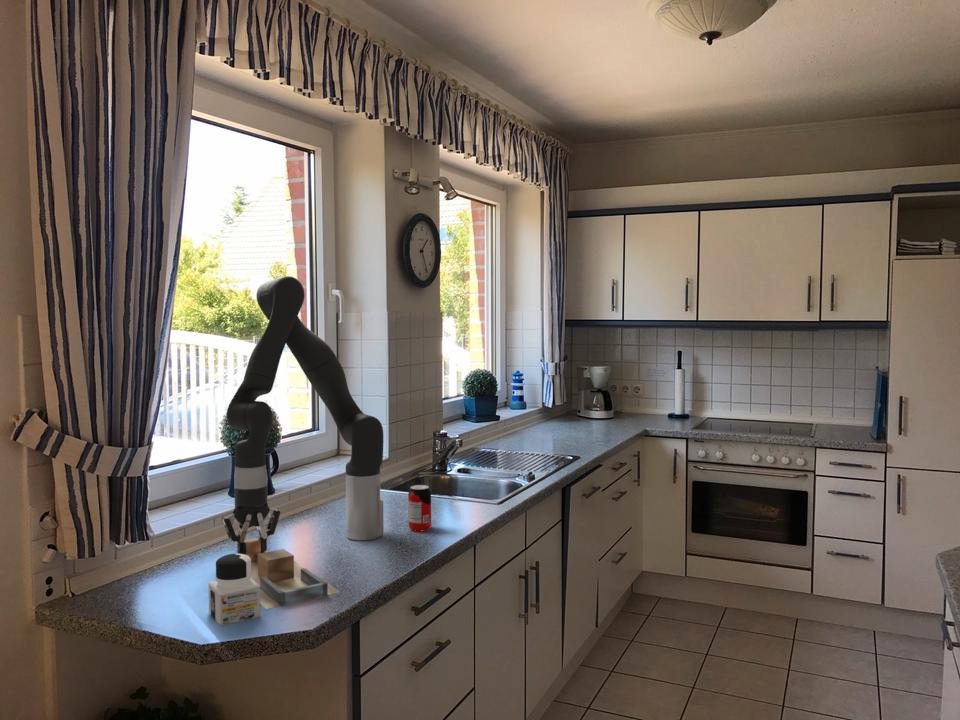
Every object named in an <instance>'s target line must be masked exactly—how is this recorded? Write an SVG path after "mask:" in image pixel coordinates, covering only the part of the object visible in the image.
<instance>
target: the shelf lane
mask: <svg viewBox="0 0 960 720" xmlns="http://www.w3.org/2000/svg"><path fill="white" fill-rule="evenodd" d="M275 550H276V549H274V550H273V551H275ZM270 551H271V550H269V551H268V552H270ZM216 561H217V560H216ZM216 561H213V564H215V565H216ZM251 579H252V580H253V581H255V582H256V583H257V584H258V585H259V586H260V606H262V607H263V608H264V609H265V610H269V609H275V608H278V607H283V606H287V605H291V604H296V603H300V602H305V601H309V600H313V599H319V598H321V597H322V598H323V597H325V596H326V597H327V596H331V595H335V594H340V593H341V591H340V590H338V589H336V588H335V587H334V586H332V585H331V584H329V583H328V582H327V581H325V580H323V579H322V578H321V577H319V576H318V575H316V574H315V573H313V572H311V571H310V570H309V569H307V568H305V567H304V566H303V565H301V564H300V563H299V562H297V561H296V560H294V578H290V579H285V580H281V581H276V582H271V581H270V580H269V579H267V578H266V577H265V576H263V577H259V576H258V561H256V562H251Z"/></svg>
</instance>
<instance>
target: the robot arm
mask: <svg viewBox="0 0 960 720" xmlns="http://www.w3.org/2000/svg"><path fill="white" fill-rule="evenodd" d="M255 296H256V301H257V305H258V307H259V309H260V311H261V312H262V314H264V316H265V317H266V318H267V320H268V323H267V325H266V327H265V329H264V331H263V333H262V335H261V336H260V338H259V339H258V341H257V343H256V345H255V346H254V348H253V350H252V352H251V353H250V354H251V355H250V356H249V359H248V361H247V362H248V363H247V366H246V370H245V374H244V376H243V380H242V381H241V383H240V385H239V387H238V388H237V390H236V392H235V393H234V394H233V397H232V399H231V400H230V402H229V404H228V407H227V411H226V420H227V423H228V426H229V427H231V428H232V429H234V430H237V431H238V430H239V431H249V435H248V438H247V439H244V440H239V441H238V442H237V443H236V444H235V445H234V473H233V474H234V477H233V479H234V480H233V483H234V485H233V486H234V493H233V494H234V510H233V511H232V513H231V514H229V515H227V516H226V515H225V516H222V518H221V521H222V524H223V526H224V528H225V529H224V530H225V531H226V534H227V536H228V539H229V540H231V541H232V542H237V544H236V546H237V548H236V550H237V551H236V552H237V553H236V554H244V555H246V543H245V542H244V541H245V540H246V536H247V533H248V530H249V528H252V527H256V529H257V533H258V536H259V537H258V538H257V539H260V540H261V553H264V552H267V550H268V545H267V543H268V542H267V541H268V540H267V539H268V537H269V536H272V535H275V532H276V529H277V525H278V523H279V518H280V516H281V511H280V510H279V509H277V508H270V507H269V505H268V503H269V502H268V471H267V465H266V464H267V463H266V462H267V461H266V454H267V453H266V448H267V444H268V439H269V435H270V433H271V432H270V431H271V427H272V423H273V412H272V409H271V407H270V405H269V404H268V403H267V402H265V401H261V400H260V401H259V400H257V399H258V398H259V397H261V396H264V395H268V394H269V393H270V392H271V391H272V390H273V387H274V383H275V379H276V376H277V373H278V368H279V365H280V361H281V357H282V355H283V352H284V350H285V347H286V346H287V348H288V349H289V350H290V352H291V353H292V355H293V357H294V358H295V360H296V361H297V363H298V365H299V366H300V368H301V370H302V372H303V374H304V376H305V377H306V378H307V380H308V382H309V383H310V384H311V385H312V387H313V389H314V390H315V392H316V393H317V395H318V396H319V398H320V399H321V401H322V403H323V404H324V405H325V407H326V408H327V410H328V411H329V413H330V415H331V417H332V420H333V422H334V423H335V425H336V427H337V429H338V431H339V434H340V436H341V438H342V439H343V441H345V442H346V444H348V445H349V446H351V451H350V452H351V454H350V460H349V461H348V462H346V464H345V518H346V519H345V525H346V527H345V534H346V535H345V537H346V539H349V540H353V541H369V540H374V539H377V538H379V537H382V536H384V535H385V534H384V526H385V525H384V501H383V500H382V499H381V466H382V464H383V461H384V459H383V458H384V439H385V438H384V429H383V428H384V427H383V425H382V423H381V421H380V420H379V419H378V418H377V417H376V416H372V415H369V414H366V413H364V411H362V409H360V407H359V406H358V405H357V403H356V401H355V400H354V398H353V396H352V395H351V392H350V391H349V390H350V389H349V386H348V382H347V376H346V374H345V370H344V368H343V366H342V363H340V361H339V359H338V357H337V355H336V354H335V351H333V349H332V348H331V347H330V346H329V344H328V343H326V341H324V340H323V339H322V338H321V337H319V336H318V335H317V334H316V333H314V332H313V331H312V330H310V329H309V328H308V327H307V326H306V325H305V324H304V323H303V322H302V320H301V318H300V317H299V314H300V311H301V309H302V306H303V304H304V302H305V289H304V287H303V284H302V283H301V281H299V279H297V278H296V277H294V276H290V275H288V276H280V277H276V278H274V279H271V280H268V281H265V282H263V283H262V284H260V285H259V286H258V288H257V290H256V295H255ZM267 516H268V517H269V520H268V523H267V527H266V525H265V522H264V521H265V519H266V518H267ZM235 519H236V521H237V522H238V526H237V534H236V532H235V530H234V527H233V524H234V523H235V521H234V520H235Z"/></svg>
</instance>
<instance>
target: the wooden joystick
mask: <svg viewBox="0 0 960 720" xmlns="http://www.w3.org/2000/svg"><path fill="white" fill-rule="evenodd" d="M244 542H245V543H246V555H247V556H249V557H250V558H251V562H256V561H258V576H259V577H263V576H265V577H266V578H267V579H269V580H270V581H271V582H276V581H281V580H285V579H290V578H294V561H295V557H294V556H295V555H293V554H292V553H290V551H288V550H286V549H285V548H281V549H274V550H275V551H274V550H269V551H270V552H269V551H265V552H264V553H261V540H260V539H258V538H248V539H245V541H244Z"/></svg>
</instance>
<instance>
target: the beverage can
mask: <svg viewBox="0 0 960 720" xmlns="http://www.w3.org/2000/svg"><path fill="white" fill-rule="evenodd" d="M429 488H430V486H428V485H426V484H425V485H424V484H415V485H412V486H410V489H409V492H408V494H407V495H408V496H407V497H408V499H407V500H408V501H407V502H408V504H407V505H408V510H407V511H408V527H409V529H410V530H411V531H413V530H416V531H415V532H422V531H421V530H426V531H428V530H429V529H430V528H431V526H432V492H431V490H430V489H429ZM427 529H428V530H427Z"/></svg>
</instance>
